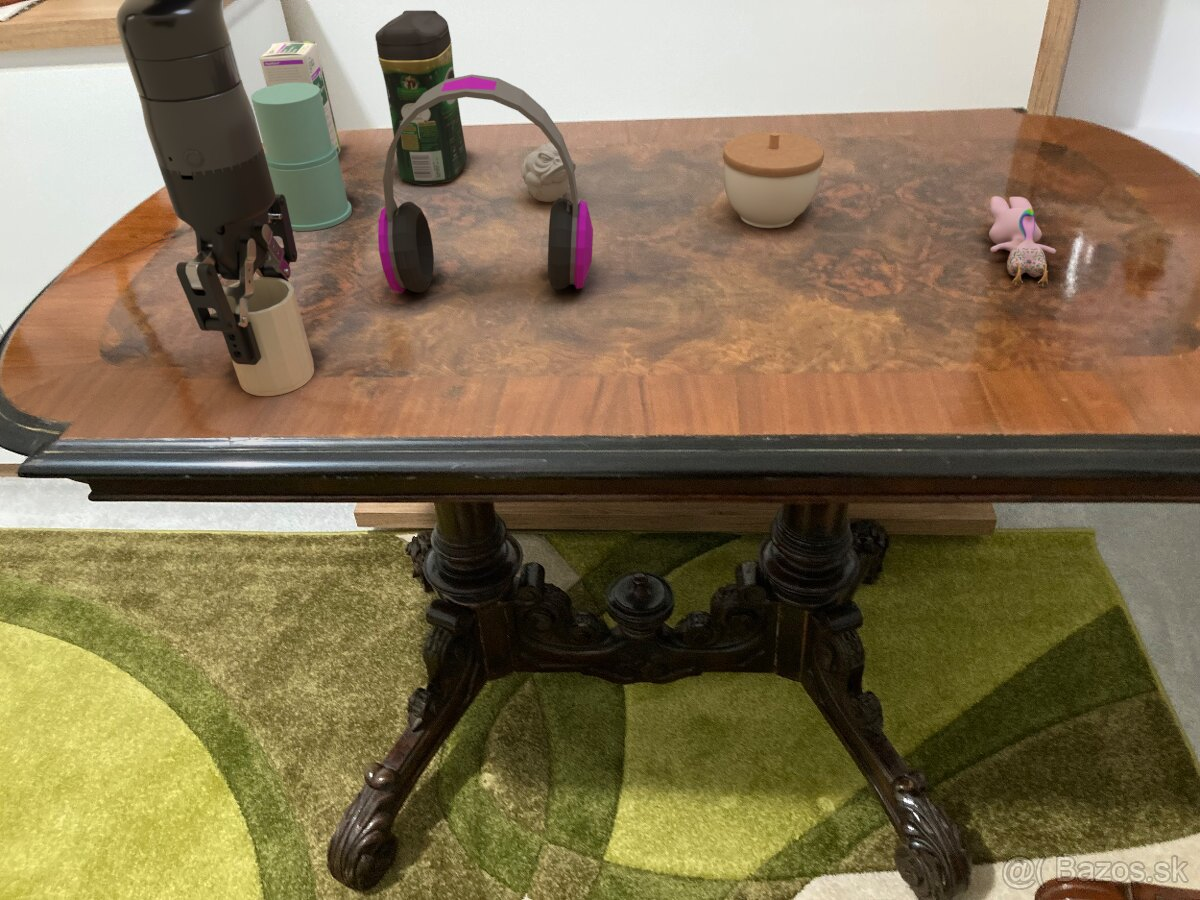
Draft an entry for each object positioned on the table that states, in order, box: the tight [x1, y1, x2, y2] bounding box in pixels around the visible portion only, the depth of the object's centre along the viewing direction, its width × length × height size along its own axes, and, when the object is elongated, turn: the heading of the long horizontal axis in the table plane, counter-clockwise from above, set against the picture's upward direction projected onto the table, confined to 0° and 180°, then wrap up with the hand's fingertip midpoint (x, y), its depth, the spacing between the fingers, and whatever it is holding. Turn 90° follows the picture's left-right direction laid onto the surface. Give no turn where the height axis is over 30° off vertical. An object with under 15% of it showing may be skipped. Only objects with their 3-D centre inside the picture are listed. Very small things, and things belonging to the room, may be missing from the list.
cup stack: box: [250, 83, 353, 232], centre depth 103 cm, size 9×9×14 cm
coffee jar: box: [374, 9, 468, 186], centre depth 111 cm, size 10×8×19 cm
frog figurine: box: [520, 141, 577, 203], centre depth 106 cm, size 6×7×7 cm
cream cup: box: [226, 276, 315, 397], centre depth 79 cm, size 6×6×8 cm
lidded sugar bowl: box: [722, 131, 825, 229], centre depth 100 cm, size 11×11×9 cm
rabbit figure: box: [988, 195, 1057, 287], centre depth 93 cm, size 6×6×15 cm
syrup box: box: [258, 40, 342, 155], centre depth 115 cm, size 6×6×14 cm
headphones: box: [377, 74, 594, 294], centre depth 86 cm, size 21×9×20 cm, turn 90°
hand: (266, 339), depth 79 cm, fingers closed on cream cup, 6 cm apart
